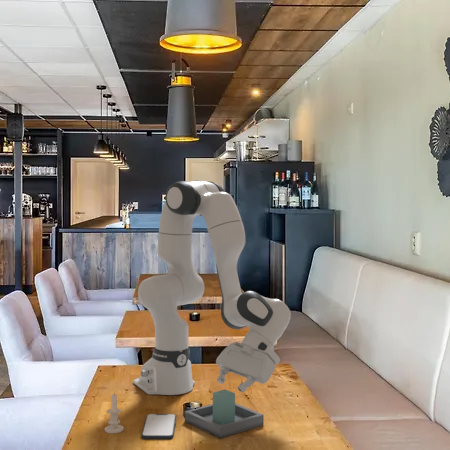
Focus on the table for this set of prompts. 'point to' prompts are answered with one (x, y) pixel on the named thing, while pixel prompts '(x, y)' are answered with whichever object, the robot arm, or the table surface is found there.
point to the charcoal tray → (242, 422)
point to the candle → (114, 417)
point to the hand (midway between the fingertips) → (229, 386)
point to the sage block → (223, 406)
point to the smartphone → (159, 426)
